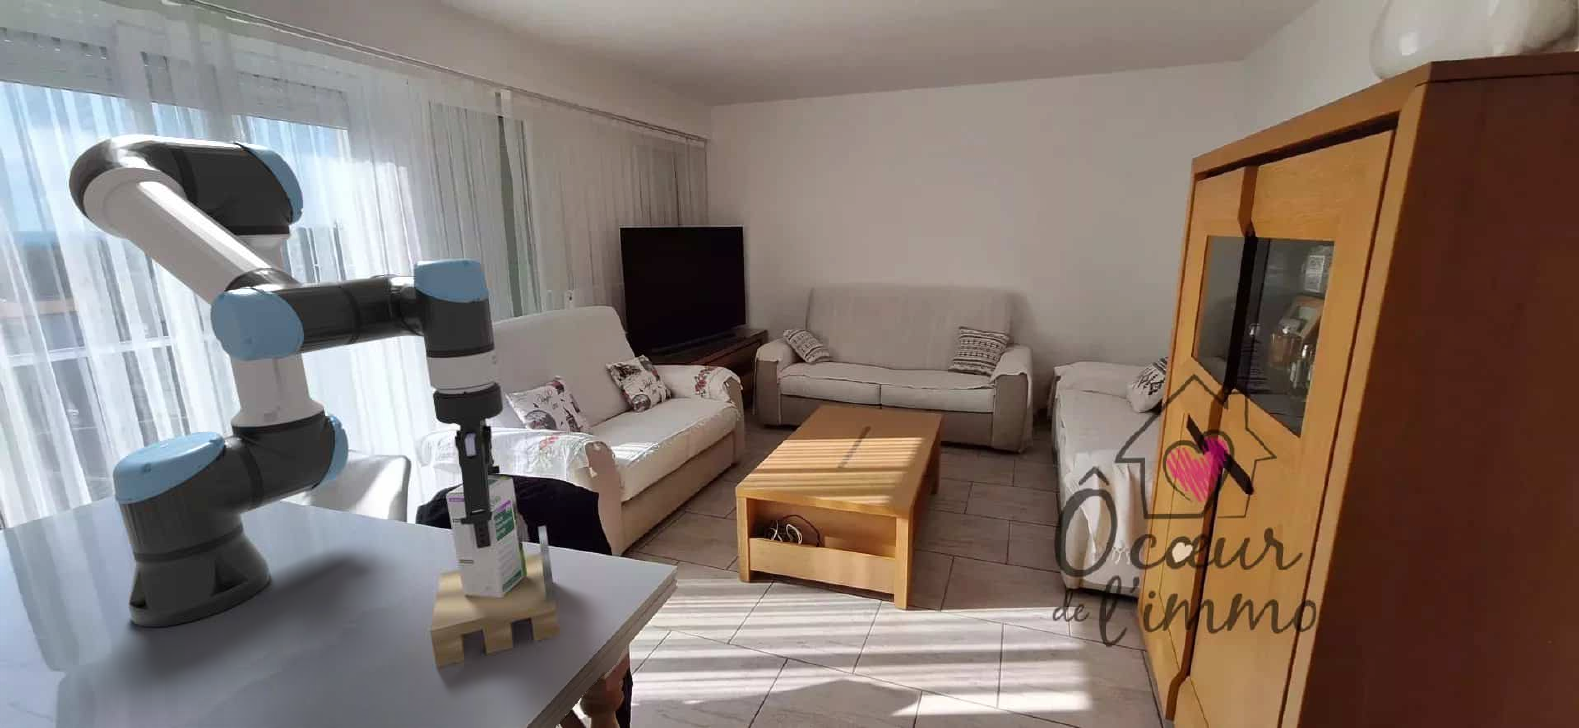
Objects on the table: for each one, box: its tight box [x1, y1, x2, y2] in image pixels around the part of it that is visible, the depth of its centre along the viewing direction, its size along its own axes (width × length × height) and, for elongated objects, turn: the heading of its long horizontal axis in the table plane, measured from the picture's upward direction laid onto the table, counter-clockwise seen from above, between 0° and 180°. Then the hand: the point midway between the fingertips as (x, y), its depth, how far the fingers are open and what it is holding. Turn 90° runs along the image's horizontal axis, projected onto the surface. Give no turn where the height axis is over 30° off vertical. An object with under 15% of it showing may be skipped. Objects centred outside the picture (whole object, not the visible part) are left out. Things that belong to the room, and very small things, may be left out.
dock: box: [429, 525, 560, 668], centre depth 84 cm, size 14×14×9 cm
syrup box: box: [445, 475, 527, 598], centre depth 83 cm, size 6×6×14 cm
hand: (489, 543), depth 83 cm, fingers open, 13 cm apart
